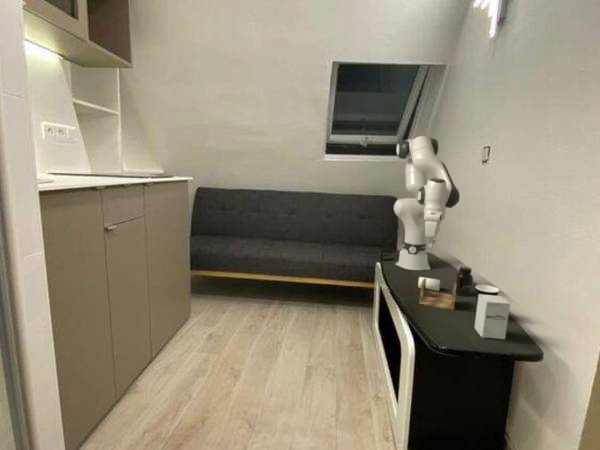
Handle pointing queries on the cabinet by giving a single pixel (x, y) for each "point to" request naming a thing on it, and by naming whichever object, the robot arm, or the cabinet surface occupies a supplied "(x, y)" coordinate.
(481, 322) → the supplement box
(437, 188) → the robot arm
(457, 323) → the cabinet surface
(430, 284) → the paper roll
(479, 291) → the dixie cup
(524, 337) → the cabinet surface
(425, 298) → the holder
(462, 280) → the supplement bottle
